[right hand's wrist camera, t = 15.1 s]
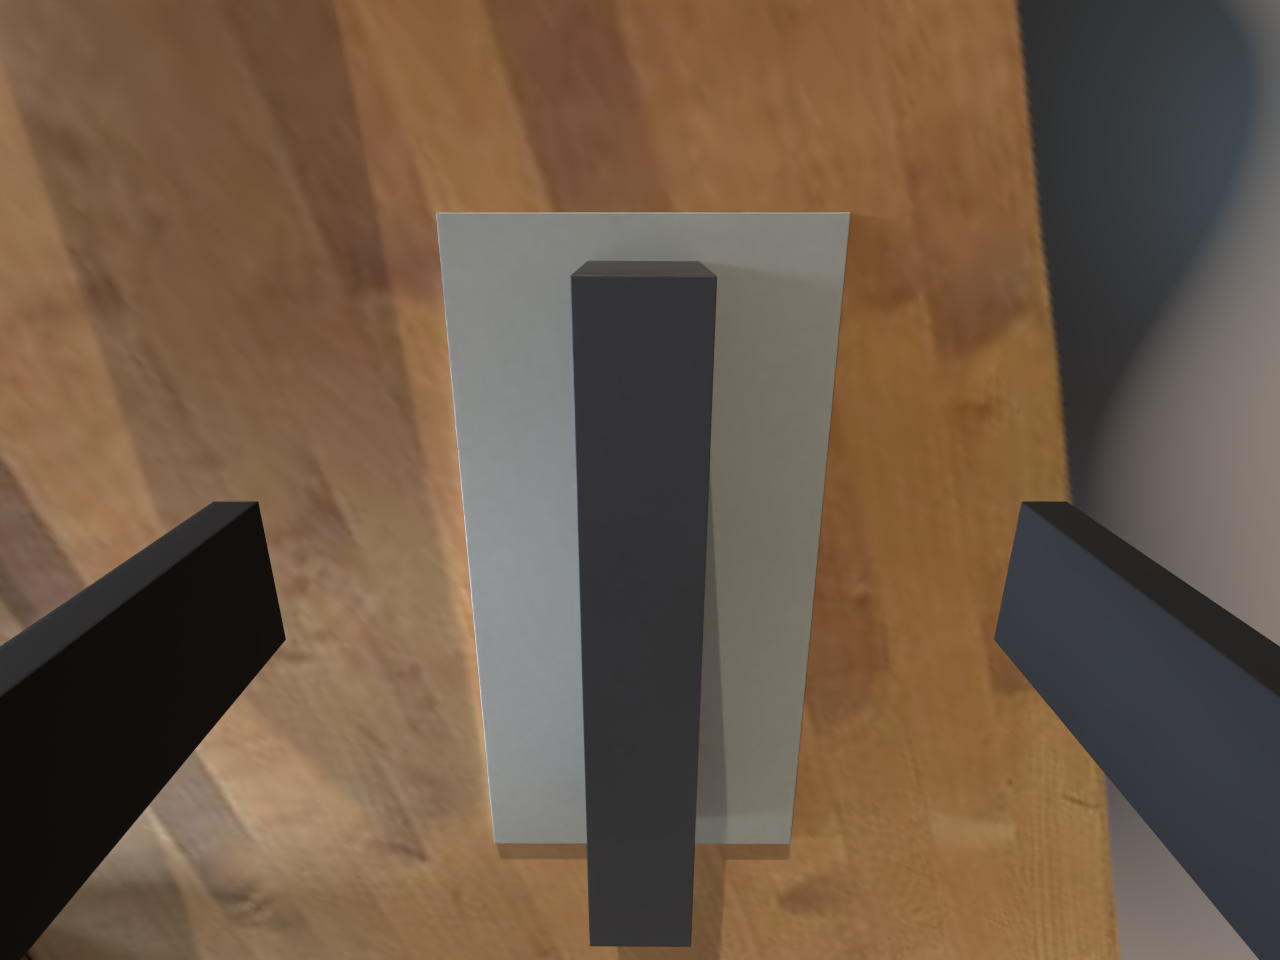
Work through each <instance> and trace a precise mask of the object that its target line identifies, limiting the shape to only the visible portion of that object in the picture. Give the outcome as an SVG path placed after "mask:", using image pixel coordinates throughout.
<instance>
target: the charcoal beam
mask: <svg viewBox="0 0 1280 960" xmlns="http://www.w3.org/2000/svg"><path fill="white" fill-rule="evenodd" d="M570 290H571V324H572V358H573V392H574V426H575V460H576V494H577V528H578V562H579V596H580V630H581V664H582V698H583V732H584V766H585V800H586V834H587V868H588V902H589V935H590V946H654V947H690V946H691V930H692V905H693V879H694V854H695V829H696V803H697V778H698V752H699V727H700V702H701V676H702V651H703V625H704V600H705V575H706V549H707V524H708V498H709V473H710V447H711V422H712V397H713V371H714V346H715V320H716V295H717V276H716V275H715V274H714V273H713V272H711V271H710V270H709V269H708V268H707V267H705V266H704V265H703V264H702V263H701V262H699V261H587V262H586V263H584V264H583V265H582V266H581V267H580V268H579V269H577V270H576V271H575V272H574V273H573V274H572V275H570Z"/></svg>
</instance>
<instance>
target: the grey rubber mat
mask: <svg viewBox="0 0 1280 960" xmlns="http://www.w3.org/2000/svg"><path fill="white" fill-rule="evenodd" d="M436 217H437V227H438V238H439V249H440V260H441V271H442V281H443V292H444V303H445V314H446V325H447V336H448V346H449V357H450V368H451V379H452V390H453V400H454V411H455V422H456V433H457V444H458V454H459V465H460V476H461V487H462V498H463V508H464V519H465V530H466V541H467V552H468V562H469V573H470V584H471V595H472V606H473V616H474V627H475V638H476V649H477V660H478V670H479V681H480V692H481V703H482V714H483V724H484V735H485V746H486V757H487V768H488V779H489V789H490V800H491V811H492V822H493V833H494V843H517V844H587V834H586V800H585V766H584V732H583V698H582V664H581V630H580V596H579V562H578V528H577V494H576V460H575V426H574V392H573V358H572V324H571V290H570V275H572V274H573V273H574V272H575V271H576V270H577V269H579V268H580V267H581V266H582V265H583V264H584V263H586V262H587V261H699V262H701V263H702V264H703V265H704V266H705V267H707V268H708V269H709V270H710V271H711V272H713V273H714V274H715V275H716V276H717V295H716V320H715V346H714V371H713V397H712V422H711V447H710V473H709V498H708V524H707V549H706V575H705V600H704V625H703V651H702V676H701V702H700V727H699V752H698V778H697V803H696V829H695V844H790V840H791V830H792V819H793V809H794V798H795V788H796V777H797V767H798V756H799V746H800V736H801V725H802V715H803V704H804V694H805V683H806V673H807V662H808V652H809V641H810V631H811V620H812V610H813V600H814V589H815V579H816V568H817V558H818V547H819V537H820V526H821V516H822V505H823V495H824V484H825V474H826V464H827V453H828V443H829V432H830V422H831V411H832V401H833V390H834V380H835V369H836V359H837V349H838V338H839V328H840V317H841V307H842V296H843V286H844V275H845V265H846V254H847V244H848V233H849V223H850V213H849V212H437V213H436Z"/></svg>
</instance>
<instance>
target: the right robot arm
mask: <svg viewBox="0 0 1280 960" xmlns="http://www.w3.org/2000/svg"><path fill="white" fill-rule="evenodd" d="M285 640H286V638H285V633H284V628H283V623H282V618H281V613H280V608H279V603H278V598H277V593H276V588H275V583H274V578H273V573H272V568H271V563H270V558H269V553H268V548H267V543H266V538H265V533H264V528H263V524H262V519H261V514H260V509H259V504H258V502H212V503H211V504H209V505H208V506H206V507H205V508H203V509H202V510H201V511H199V512H198V513H196V514H195V515H193V516H192V517H190V518H189V519H187V520H186V521H184V522H183V523H181V524H180V525H178V526H177V527H176V528H174V529H173V530H171V531H170V532H168V533H167V534H165V535H164V536H162V537H161V538H159V539H158V540H156V541H155V542H153V543H152V544H151V545H149V546H148V547H146V548H145V549H143V550H142V551H140V552H139V553H137V554H136V555H134V556H133V557H131V558H130V559H128V560H127V561H126V562H124V563H123V564H121V565H120V566H118V567H117V568H115V569H114V570H112V571H111V572H109V573H108V574H106V575H105V576H103V577H102V578H101V579H99V580H98V581H96V582H95V583H93V584H92V585H90V586H89V587H87V588H86V589H84V590H83V591H81V592H80V593H78V594H77V595H76V596H74V597H73V598H71V599H70V600H68V601H67V602H65V603H64V604H62V605H61V606H59V607H58V608H56V609H55V610H53V611H52V612H51V613H49V614H48V615H46V616H45V617H43V618H42V619H40V620H39V621H37V622H36V623H34V624H33V625H31V626H30V627H28V628H27V629H25V630H24V631H23V632H21V633H20V634H18V635H17V636H15V637H14V638H12V639H11V640H9V641H8V642H6V643H5V644H3V645H2V646H0V960H21V959H22V957H23V956H24V955H25V954H26V953H27V951H28V950H29V949H30V948H31V947H32V945H33V944H34V943H35V942H36V941H37V939H38V938H39V937H40V936H41V935H42V933H43V932H44V931H45V930H46V928H47V927H48V926H49V925H50V924H51V922H52V921H53V920H54V919H55V918H56V916H57V915H58V914H59V913H60V912H61V910H62V909H63V908H64V907H65V906H66V904H67V903H68V902H69V901H70V899H71V898H72V897H73V896H74V895H75V893H76V892H77V891H78V890H79V889H80V887H81V886H82V885H83V884H84V883H85V881H86V880H87V879H88V878H89V877H90V875H91V874H92V873H93V872H94V871H95V869H96V868H97V867H98V866H99V864H100V863H101V862H102V861H103V860H104V858H105V857H106V856H107V855H108V854H109V852H110V851H111V850H112V849H113V848H114V846H115V845H116V844H117V843H118V842H119V840H120V839H121V838H122V837H123V835H124V834H125V833H126V832H127V831H128V829H129V828H130V827H131V826H132V825H133V823H134V822H135V821H136V820H137V819H138V817H139V816H140V815H141V814H142V813H143V811H144V810H145V809H146V808H147V807H148V805H149V804H150V803H151V802H152V800H153V799H154V798H155V797H156V796H157V794H158V793H159V792H160V791H161V790H162V788H163V787H164V786H165V785H166V784H167V782H168V781H169V780H170V779H171V778H172V776H173V775H174V774H175V773H176V771H177V770H178V769H179V768H180V767H181V765H182V764H183V763H184V762H185V761H186V759H187V758H188V757H189V756H190V755H191V753H192V752H193V751H194V750H195V749H196V747H197V746H198V745H199V744H200V743H201V741H202V740H203V739H204V738H205V736H206V735H207V734H208V733H209V732H210V730H211V729H212V728H213V727H214V726H215V724H216V723H217V722H218V721H219V720H220V718H221V717H222V716H223V715H224V714H225V712H226V711H227V710H228V709H229V707H230V706H231V705H232V704H233V703H234V701H235V700H236V699H237V698H238V697H239V695H240V694H241V693H242V692H243V691H244V689H245V688H246V687H247V686H248V685H249V683H250V682H251V681H252V680H253V679H254V677H255V676H256V675H257V674H258V672H259V671H260V670H261V669H262V668H263V666H264V665H265V664H266V663H267V662H268V660H269V659H270V658H271V657H272V656H273V654H274V653H275V652H276V651H277V650H278V648H279V647H280V646H281V645H282V643H283V642H284V641H285ZM994 640H995V641H996V642H997V643H998V645H999V646H1000V647H1001V648H1002V650H1003V651H1004V652H1005V653H1006V654H1007V656H1008V657H1009V658H1010V659H1011V660H1012V662H1013V663H1014V664H1015V665H1016V666H1017V668H1018V669H1019V670H1020V671H1021V672H1022V674H1023V675H1024V676H1025V677H1026V679H1027V680H1028V681H1029V682H1030V683H1031V685H1032V686H1033V687H1034V688H1035V689H1036V691H1037V692H1038V693H1039V694H1040V695H1041V697H1042V698H1043V699H1044V700H1045V701H1046V703H1047V704H1048V705H1049V706H1050V707H1051V709H1052V710H1053V711H1054V712H1055V714H1056V715H1057V716H1058V717H1059V718H1060V720H1061V721H1062V722H1063V723H1064V724H1065V726H1066V727H1067V728H1068V729H1069V730H1070V732H1071V733H1072V734H1073V735H1074V736H1075V738H1076V739H1077V740H1078V741H1079V743H1080V744H1081V745H1082V746H1083V747H1084V749H1085V750H1086V751H1087V752H1088V753H1089V755H1090V756H1091V757H1092V758H1093V759H1094V761H1095V762H1096V763H1097V764H1098V765H1099V767H1100V768H1101V769H1102V770H1103V771H1104V773H1105V774H1106V775H1107V776H1108V778H1109V779H1110V780H1111V781H1112V782H1113V784H1114V785H1115V786H1116V787H1117V788H1118V790H1119V791H1120V792H1121V793H1122V794H1123V796H1124V797H1125V798H1126V799H1127V800H1128V802H1129V803H1130V804H1131V805H1132V806H1133V808H1134V809H1135V810H1136V811H1137V813H1138V814H1139V815H1140V816H1141V817H1142V819H1143V820H1144V821H1145V822H1146V823H1147V825H1148V826H1149V827H1150V828H1151V829H1152V831H1153V832H1154V833H1155V834H1156V835H1157V837H1158V838H1159V839H1160V840H1161V842H1162V843H1163V844H1164V845H1165V846H1166V847H1167V849H1168V850H1169V851H1170V852H1171V854H1172V855H1173V856H1174V857H1175V858H1176V860H1177V861H1178V862H1179V863H1180V864H1181V866H1182V867H1183V868H1184V869H1185V871H1186V872H1187V873H1188V874H1189V875H1190V877H1191V878H1192V879H1193V880H1194V881H1195V883H1196V884H1197V885H1198V886H1199V887H1200V889H1201V890H1202V891H1203V892H1204V893H1205V895H1206V896H1207V897H1208V898H1209V899H1210V901H1211V902H1212V903H1213V904H1214V906H1215V907H1216V908H1217V909H1218V910H1219V911H1220V913H1221V914H1222V915H1223V916H1224V918H1225V919H1226V920H1227V921H1228V922H1229V924H1230V925H1231V926H1232V927H1233V928H1234V930H1235V931H1236V932H1237V933H1238V935H1239V936H1240V937H1241V938H1242V939H1243V941H1244V942H1245V943H1246V944H1247V945H1248V947H1249V948H1250V949H1251V950H1252V951H1253V953H1254V954H1255V955H1256V956H1257V957H1258V959H1259V960H1280V647H1279V646H1278V645H1277V644H1275V643H1274V642H1272V641H1271V640H1269V639H1268V638H1266V637H1265V636H1263V635H1262V634H1260V633H1259V632H1257V631H1256V630H1254V629H1253V628H1252V627H1250V626H1249V625H1247V624H1246V623H1244V622H1243V621H1241V620H1240V619H1238V618H1237V617H1235V616H1234V615H1232V614H1231V613H1229V612H1228V611H1227V610H1225V609H1224V608H1222V607H1221V606H1219V605H1218V604H1216V603H1215V602H1213V601H1212V600H1210V599H1209V598H1207V597H1206V596H1204V595H1203V594H1202V593H1200V592H1199V591H1197V590H1196V589H1194V588H1193V587H1191V586H1190V585H1188V584H1187V583H1185V582H1184V581H1182V580H1181V579H1179V578H1178V577H1176V576H1175V575H1174V574H1172V573H1171V572H1169V571H1168V570H1166V569H1165V568H1163V567H1162V566H1160V565H1159V564H1157V563H1156V562H1154V561H1153V560H1152V559H1150V558H1148V557H1147V556H1146V555H1144V554H1143V553H1141V552H1140V551H1138V550H1137V549H1135V548H1134V547H1132V546H1131V545H1129V544H1128V543H1127V542H1125V541H1124V540H1122V539H1121V538H1119V537H1118V536H1116V535H1115V534H1113V533H1112V532H1110V531H1109V530H1107V529H1106V528H1104V527H1103V526H1102V525H1100V524H1099V523H1097V522H1096V521H1094V520H1093V519H1091V518H1090V517H1088V516H1087V515H1085V514H1084V513H1082V512H1081V511H1079V510H1078V509H1077V508H1075V507H1074V506H1072V505H1071V504H1069V503H1068V502H1022V504H1021V509H1020V514H1019V519H1018V524H1017V528H1016V533H1015V538H1014V543H1013V548H1012V553H1011V558H1010V563H1009V568H1008V573H1007V578H1006V583H1005V588H1004V593H1003V598H1002V603H1001V608H1000V613H999V618H998V623H997V628H996V633H995V638H994Z"/></svg>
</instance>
